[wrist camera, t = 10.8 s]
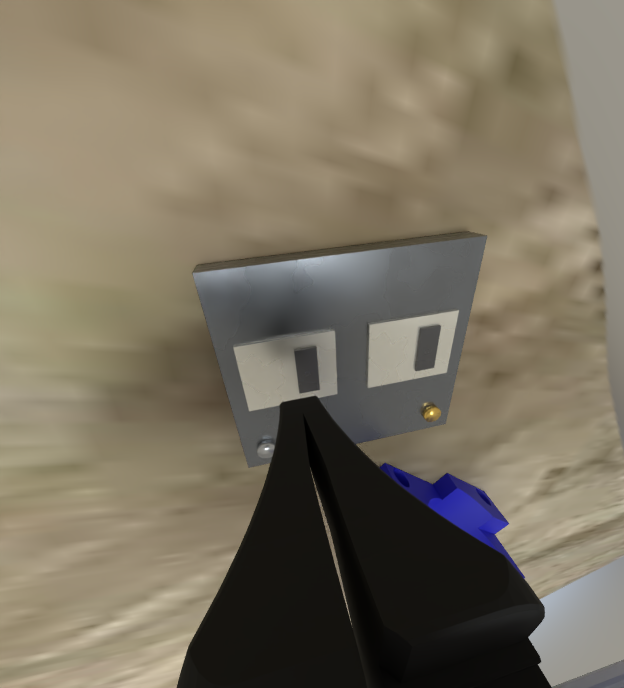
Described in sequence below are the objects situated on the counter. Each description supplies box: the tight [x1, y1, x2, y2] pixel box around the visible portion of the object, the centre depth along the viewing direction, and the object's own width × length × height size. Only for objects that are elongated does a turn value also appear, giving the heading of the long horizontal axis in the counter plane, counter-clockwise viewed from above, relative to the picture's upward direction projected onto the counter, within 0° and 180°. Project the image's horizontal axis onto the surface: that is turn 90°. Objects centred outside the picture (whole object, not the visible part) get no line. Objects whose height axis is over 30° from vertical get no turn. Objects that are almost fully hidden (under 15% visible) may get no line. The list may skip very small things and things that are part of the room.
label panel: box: [192, 231, 487, 468], centre depth 14 cm, size 11×12×2 cm
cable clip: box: [380, 463, 525, 578], centre depth 21 cm, size 12×4×6 cm, turn 51°
